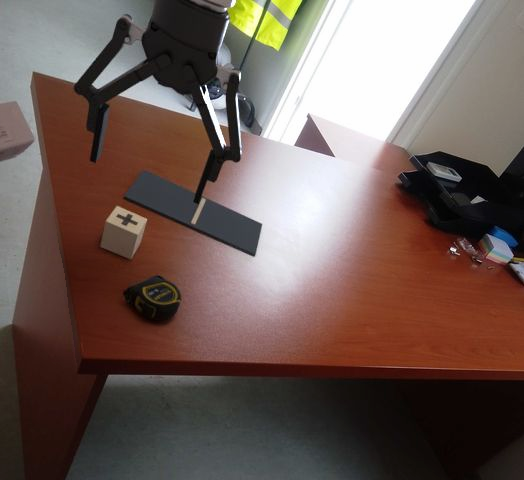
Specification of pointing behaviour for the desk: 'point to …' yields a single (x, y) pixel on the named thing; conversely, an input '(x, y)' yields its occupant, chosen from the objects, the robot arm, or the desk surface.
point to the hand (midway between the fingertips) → (147, 178)
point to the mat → (195, 212)
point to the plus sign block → (123, 232)
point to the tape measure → (154, 298)
